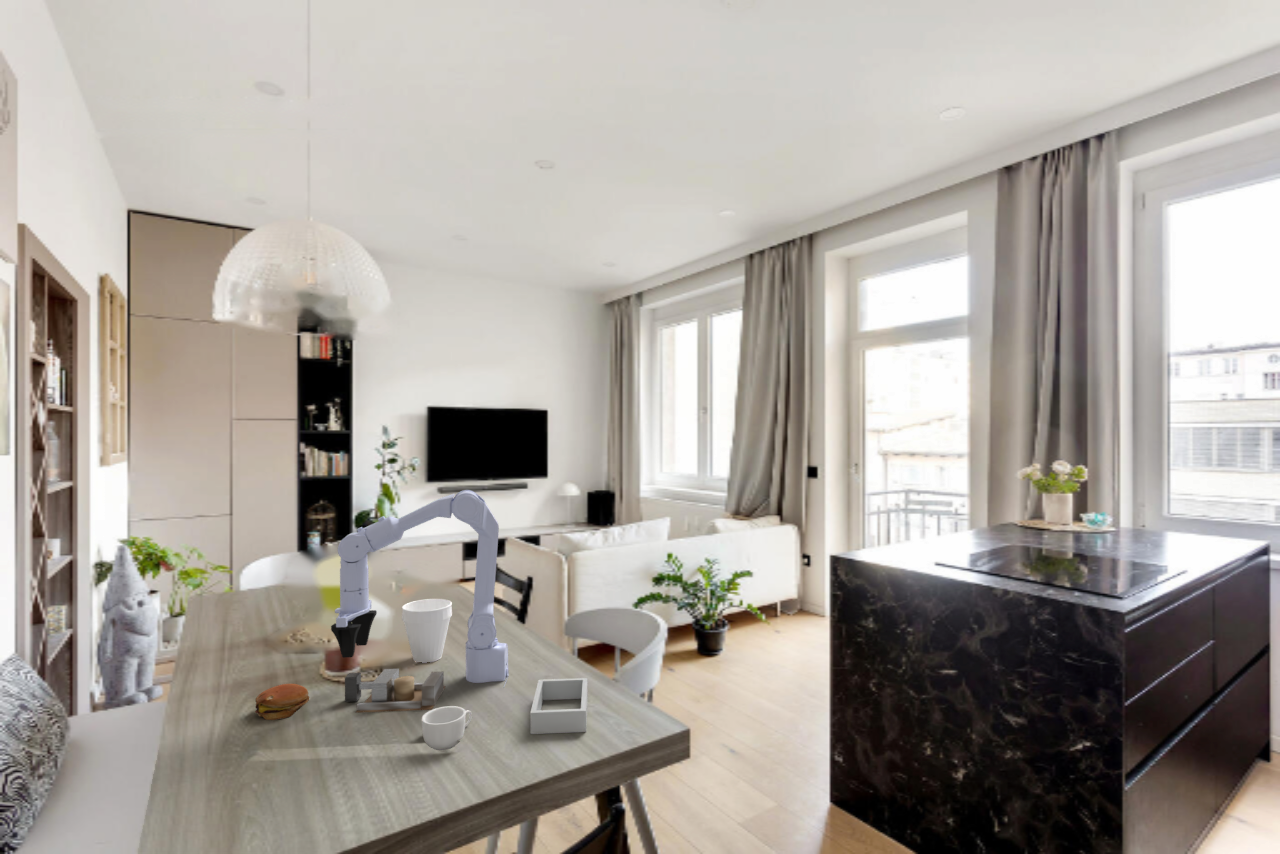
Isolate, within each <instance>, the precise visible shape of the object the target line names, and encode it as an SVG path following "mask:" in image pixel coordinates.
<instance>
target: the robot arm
mask: <svg viewBox="0 0 1280 854" xmlns="http://www.w3.org/2000/svg"><path fill="white" fill-rule="evenodd" d="M452 515H453V516H454V517H455V519H457V520H458V521H461V522H463V523H464V524H467V525H468V526H470V527H471V529H473V530H474V531H475V532H476V533H477V534H478V535H477V536H478V538H477V551H476V565H475V579H474V594H473V605H472V612H471V614H470V616H469V617H468V619H467V620H468V621H467V641H466V642H465V680H466V681H467V682H469V683H474V684H475V683H476V684H481V683H489V682H504V684H503V689H504V688H505V686H506V683H507V681H508V679H509V646H508V643H505V642H499V640H498V637H497V628H496V619H495V615H494V602H495V589H496V588H495V587H496V574H497V573H496V572H497V561H498V559H497V557H498V547H499V545H498V544H499V531H500V528H499V523H498V521H497V519H496V518H495V516H494V514H493V512H492V511H491V509H490V507H489V506H488V505H487V503H486V502H485V499H484V498H483V497H482V496H480V495H479V494H478V493H476V492H475V491H474V490H471V489H463V490H461V491H459V492H457V493H456V494H455V493H452V494H449V495H446V496H442V497H440V498H438V499H434V501H432V502H429V503H428V504H426V505H423V506H421V507H419V508H417V509H415V510H413V511H410V512H409V513H407V514H405V515H404V516H401V517H399V518H397V517H394V516H392V515H389V516H387V517H385V515H383V516H381V517H379V518H377V521H375V523H371V524H369V525H368V526H366V527H363V526H361V527H358V528H357V529H356V532H354V531H353V532H351V533H349V534H347V535H346V536H345V537H343V538H342V539H341V540H340V542H339V544H338V547H337V555H338V556H339V557H340V561H339V564H340V568H339V596H340V597H339V599H340V600H339V603H340V604H339V605H340V607H337V608H335V609H334V614H338V616H337V617H336V618H335V623H333V624H331V625H330V630H331V632H332V634H333V635H334V637H335V638H336V641H337V643H338V646H339V647H338V648H339V649H340V654H341V657H342V658H353V657H354V655H355V650H356V647H357V646H358V647H359V646H367V644H368V641H369V638H370V637H369V636H370V631H371V628H372V625H373V623H374V620H375V618H376V616H377V613H378V612H377V610H371V609H372V599H370V598H369V597H370V595H369V594H370V591H369V588H370V587H369V583H370V582H369V579H370V578H369V573H370V572H369V563H368V561H369V560H368V559H369V558H368V557H369V555H368V553H370V552H371V553H375V552H376V551H379V550H381V549H383V548H385V547H387V546H389V545H391V544H394V543H396V542H398V541H400V540H402V538H403V536H404V532H406V531H409V530H411V529H412V528H415V527H416V526H417V527H418V526H420V525H421V524H424V523H427V522H429V521H431V520H434V519H436V518H443V519H445V518H446V519H451V518H452Z"/></svg>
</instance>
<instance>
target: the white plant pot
mask: <svg viewBox="0 0 1280 854" xmlns="http://www.w3.org/2000/svg"><path fill="white" fill-rule="evenodd" d="M452 606H453V602H452V601H451V600H450V599H449V600H448V599H445V598H426V599H418V600H414V601H410V602H408V603H404V605H402V606H401V610H402V611H401V612H402V613H401V621H403V623H404V628H405V632H406V636H407V639H408V645H409V647H410V652H411V655H412V656H411V657H412V659H413V662H414V661H416V662H415V663H417V662H422V663H421V664H428V663H427V662H430V663H433V662H434V663H435V662H437V661H439V660H441V658H442V657H443V653H444V648H445V645H446V639H447V634H448V631H449V630H448V629H449V625H450V621H451V617H452V616H453V608H452Z"/></svg>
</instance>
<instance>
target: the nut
mask: <svg viewBox="0 0 1280 854" xmlns="http://www.w3.org/2000/svg"><path fill="white" fill-rule="evenodd" d="M414 683H415V677H414V676H411V675H405V676H399V678H396V679H395V680H394V701H395V702H399V701H411V700H413V699H414Z"/></svg>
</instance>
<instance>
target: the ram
mask: <svg viewBox="0 0 1280 854" xmlns="http://www.w3.org/2000/svg"><path fill="white" fill-rule="evenodd" d="M399 677H400V668H384V669H383V671H382V672H381V673H380V674H379V675H378V676H377V677H376V678H375V679H374V680H373V681H362V672H350V673H347V674H346V676H345V677H344V702H346V703H347V702H358V701H359V699H360V698H361V697H362V690H371V694H372V702H390V701H391V700H392V698H393V697H394V680H395V679H396V678H399Z"/></svg>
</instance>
